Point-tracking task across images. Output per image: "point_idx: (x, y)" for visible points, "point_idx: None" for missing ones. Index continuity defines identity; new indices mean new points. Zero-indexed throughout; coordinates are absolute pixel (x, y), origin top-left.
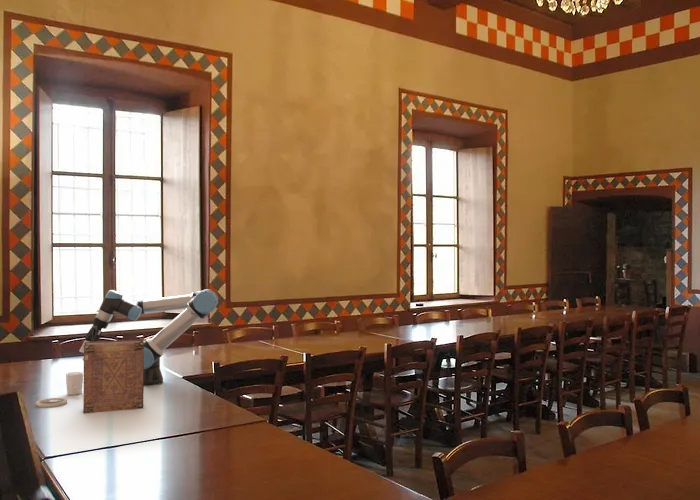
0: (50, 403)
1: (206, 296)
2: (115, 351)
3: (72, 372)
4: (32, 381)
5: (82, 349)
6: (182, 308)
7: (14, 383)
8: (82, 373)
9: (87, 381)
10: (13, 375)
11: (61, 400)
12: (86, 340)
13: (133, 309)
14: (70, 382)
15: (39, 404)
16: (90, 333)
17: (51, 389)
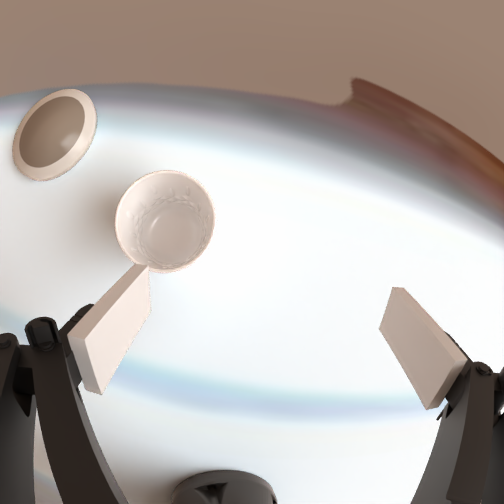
0: (24, 125)
1: None
2: None
3: (212, 217)
4: (445, 174)
5: (398, 317)
6: None
7: (434, 130)
8: (134, 262)
9: None
10: (495, 169)
11: (30, 157)
12: (456, 375)
13: None
14: (140, 200)
15: (44, 98)
16: (447, 496)
17: (311, 177)
